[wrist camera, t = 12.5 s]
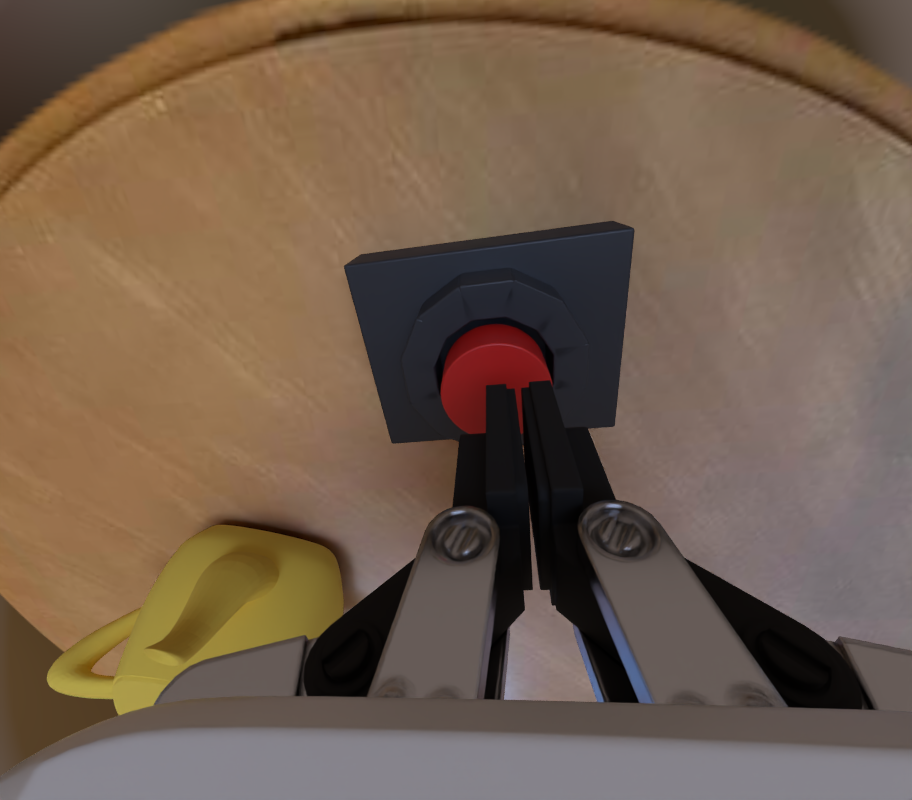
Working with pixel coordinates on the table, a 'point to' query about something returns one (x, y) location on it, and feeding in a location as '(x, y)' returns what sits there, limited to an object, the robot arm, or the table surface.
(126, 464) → the table surface
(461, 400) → the button
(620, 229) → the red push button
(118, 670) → the teapot
